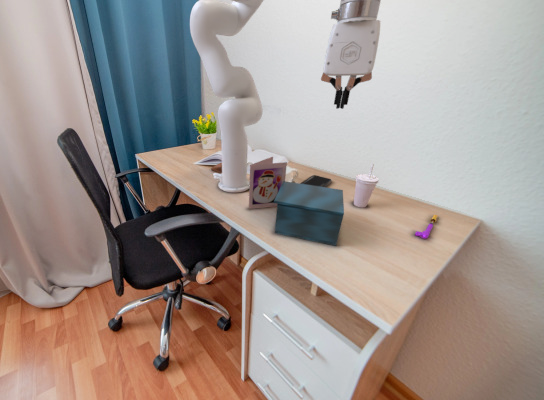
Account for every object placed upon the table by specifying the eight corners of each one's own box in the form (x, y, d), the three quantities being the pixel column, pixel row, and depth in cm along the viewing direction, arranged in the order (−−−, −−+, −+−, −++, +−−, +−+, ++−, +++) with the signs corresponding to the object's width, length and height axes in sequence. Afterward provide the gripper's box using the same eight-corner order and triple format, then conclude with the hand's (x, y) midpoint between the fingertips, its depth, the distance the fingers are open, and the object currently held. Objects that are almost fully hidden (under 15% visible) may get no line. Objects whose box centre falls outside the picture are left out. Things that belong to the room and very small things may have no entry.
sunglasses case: (233, 159, 122) (239, 149, 118) (243, 168, 121) (249, 158, 116) (209, 169, 110) (214, 158, 106) (219, 179, 109) (225, 169, 104)
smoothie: (373, 210, 76) (386, 168, 69) (351, 208, 77) (362, 167, 70) (367, 201, 81) (378, 161, 75) (347, 199, 82) (356, 160, 76)
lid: (273, 203, 62) (274, 200, 62) (283, 183, 73) (283, 180, 73) (343, 216, 56) (344, 213, 56) (342, 192, 68) (342, 189, 67)
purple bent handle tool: (427, 240, 61) (438, 217, 71) (427, 235, 61) (438, 213, 71) (414, 237, 63) (426, 215, 73) (414, 233, 63) (427, 212, 73)
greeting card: (249, 210, 77) (251, 165, 70) (244, 199, 84) (245, 158, 77) (283, 206, 79) (288, 163, 72) (275, 196, 85) (279, 155, 78)
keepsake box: (274, 233, 66) (277, 205, 62) (283, 209, 77) (286, 184, 73) (336, 246, 61) (343, 216, 56) (336, 219, 72) (342, 192, 68)
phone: (296, 185, 90) (313, 174, 100) (295, 188, 91) (313, 177, 100) (316, 191, 85) (332, 179, 95) (315, 194, 86) (332, 181, 96)
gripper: (318, 15, 50) (306, 109, 59) (403, 7, 45) (376, 111, 53) (320, 22, 56) (309, 105, 65) (395, 15, 51) (372, 107, 60)
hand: (339, 107), depth 59 cm, fingers closed
